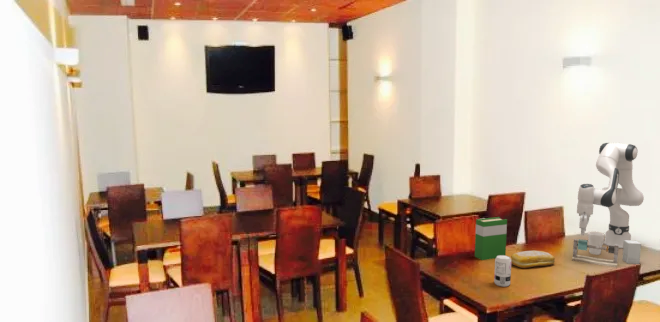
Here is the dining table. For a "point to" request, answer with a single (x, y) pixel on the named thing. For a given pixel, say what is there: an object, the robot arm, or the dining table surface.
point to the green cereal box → (490, 238)
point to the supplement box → (631, 251)
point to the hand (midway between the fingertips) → (583, 232)
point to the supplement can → (502, 270)
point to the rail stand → (596, 260)
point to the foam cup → (595, 241)
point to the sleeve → (582, 244)
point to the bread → (532, 259)
